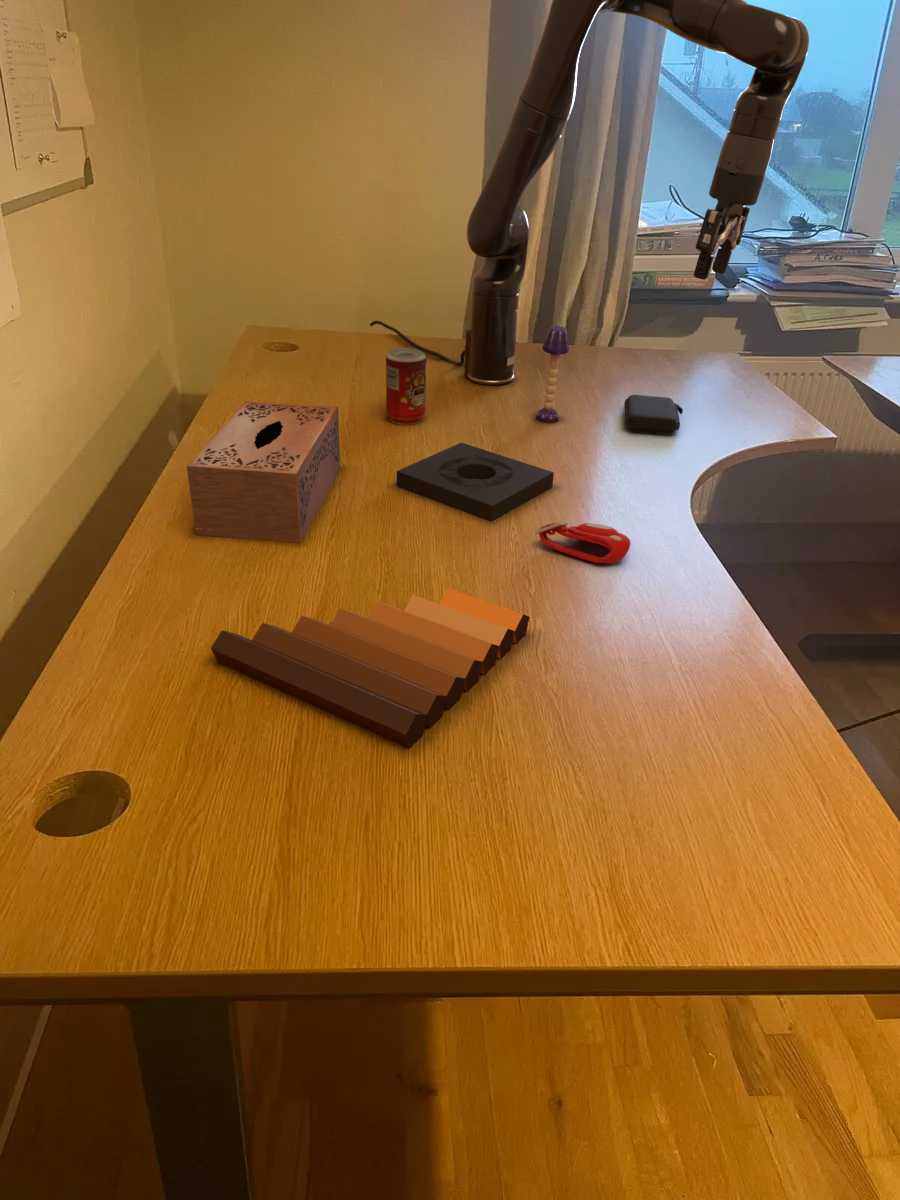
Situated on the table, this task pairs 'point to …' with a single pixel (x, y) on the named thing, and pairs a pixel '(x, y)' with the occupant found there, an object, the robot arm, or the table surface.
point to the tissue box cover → (265, 472)
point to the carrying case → (651, 414)
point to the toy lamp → (553, 370)
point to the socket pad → (485, 498)
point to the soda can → (405, 385)
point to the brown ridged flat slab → (381, 659)
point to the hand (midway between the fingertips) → (709, 275)
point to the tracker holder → (588, 540)
